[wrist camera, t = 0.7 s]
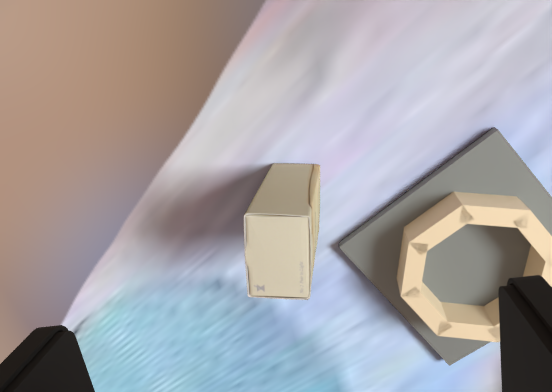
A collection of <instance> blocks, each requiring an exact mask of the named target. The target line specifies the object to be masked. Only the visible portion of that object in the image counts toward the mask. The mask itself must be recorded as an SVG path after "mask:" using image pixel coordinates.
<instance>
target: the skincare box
mask: <svg viewBox="0 0 552 392" xmlns="http://www.w3.org/2000/svg"><path fill="white" fill-rule="evenodd" d="M319 214H320V165H319V164H288V163H274V164H272V166H271V167H270V169H269V171H268V173H267V175H266V177H265V178H264V180H263V182H262V184H261V186H260V187H259V189H258V191H257V193H256V195H255V196H254V198H253V200H252V202H251V204H250V205H249V207H248V209H247V211H246V213H245V214H244V246H245V264H246V279H247V291H248V297H257V298H274V299H301V300H308V299H309V298H310V292H311V282H312V274H313V267H314V260H315V252H316V246H317V239H318V232H319Z"/></svg>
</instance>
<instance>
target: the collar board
mask: <svg viewBox="0 0 552 392" xmlns="http://www.w3.org/2000/svg"><path fill="white" fill-rule="evenodd" d="M339 248H340V249H341V250H342V251H343V252H344V253H345V255H346V256H347V257H348V258H349V259H350V260H351V261H352V262H353V263H354V264H355V265H356V266H357V267H358V268H359V269H360V271H361V272H362V273H363V274H364V275H365V276H366V277H367V278H368V279H369V280H370V281H371V282H372V283H373V284H374V286H375V287H376V288H377V289H378V290H379V291H380V292H381V293H382V294H383V295H384V296H385V297H386V298H387V299H388V301H389V302H390V303H391V304H392V305H393V306H394V307H395V308H396V309H397V310H398V311H399V312H400V313H401V314H402V315H403V317H404V318H405V319H406V320H407V321H408V322H409V323H410V324H411V325H412V326H413V327H414V328H415V329H416V330H417V332H418V333H419V334H420V335H421V336H422V337H423V338H424V339H425V340H426V341H427V342H428V343H429V344H430V345H431V347H432V348H433V349H434V350H435V351H436V352H437V353H438V354H439V355H440V356H441V357H442V358H443V359H444V360H445V361H446V363H447V364H448V365H449V366H450V365H451V364H453V363H455V362H456V361H458V360H460V359H462V358H463V357H465V356H467V355H469V354H470V353H472V352H474V351H475V350H477V349H479V348H481V347H482V346H484V345H486V344H488V343H489V342H499V341H500V323H499V297H498V291H499V287H500V286H507V282H508V279H509V278H515V277H524V276H534V275H540V276H542V277H543V278H544V279H545V280H546V281H547V283H548V284H549V285H550V286H551V287H552V197H551V196H550V194H549V193H548V192H547V191H546V189H545V188H544V187H543V186H542V184H541V183H540V182H539V181H538V179H537V178H536V177H535V175H534V174H533V173H532V172H531V170H530V169H529V168H528V167H527V165H526V164H525V163H524V162H523V160H522V159H521V158H520V157H519V155H518V154H517V153H516V152H515V150H514V149H513V148H512V147H511V145H510V144H509V143H508V142H507V140H506V139H505V138H504V137H503V135H502V134H501V133H500V132H499V130H498V129H496V128H495V127H494V128H492V129H491V130H490V131H488V132H487V133H486V134H484V135H483V136H482V137H480V138H479V139H478V140H476V141H475V142H473V143H472V144H471V145H469V146H468V147H467V148H465V149H464V150H463V151H461V152H460V153H459V154H457V155H456V156H455V157H453V158H452V159H451V160H449V161H448V162H447V163H445V164H444V165H443V166H441V167H440V168H439V169H437V170H436V171H435V172H433V173H432V174H431V175H429V176H428V177H426V178H425V179H424V180H422V181H421V182H420V183H418V184H417V185H416V186H414V187H413V188H412V189H410V190H409V191H408V192H406V193H405V194H404V195H402V196H401V197H400V198H398V199H397V200H396V201H394V202H393V203H392V204H390V205H389V206H388V207H386V208H385V209H384V210H382V211H381V212H380V213H378V214H377V215H375V216H374V217H373V218H371V219H370V220H369V221H367V222H366V223H365V224H363V225H362V226H361V227H359V228H358V229H357V230H355V231H354V232H353V233H351V234H350V235H349V236H347V237H346V238H345V239H343V240H342V241H341V242H339Z"/></svg>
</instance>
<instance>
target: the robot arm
mask: <svg viewBox="0 0 552 392" xmlns="http://www.w3.org/2000/svg"><path fill="white" fill-rule="evenodd" d="M498 297H499V323H500V349H501V375H502V392H552V287H551V286H550V285H549V284H548V283H547V281H546V280H545V279H544V278H543V277H542V276H540V275H534V276H524V277H515V278H509V279H508V282H507V286H500V287H499V291H498ZM0 392H95V391H94V388H93V385H92V382H91V379H90V377H89V374H88V371H87V368H86V365H85V362H84V359H83V357H82V354H81V351H80V348H79V345H78V342H77V339H76V337H75V335H74V333H73V332H72V331H68V329H67V328H66V327H65V326H62V325H59V326H50V327H41V328H36V329H35V330H34V331H33V332H32V333H31V334H30V335H29V336H28V337H27V338H26V339H25V340H24V341H23V342H22V343H21V344H20V345H19V346H18V347H17V348H16V349H15V350H14V351H13V352H12V353H11V354H10V355H9V356H8V357H7V358H6V359H5V360H4V361H3V362H2V363H1V364H0Z"/></svg>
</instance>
